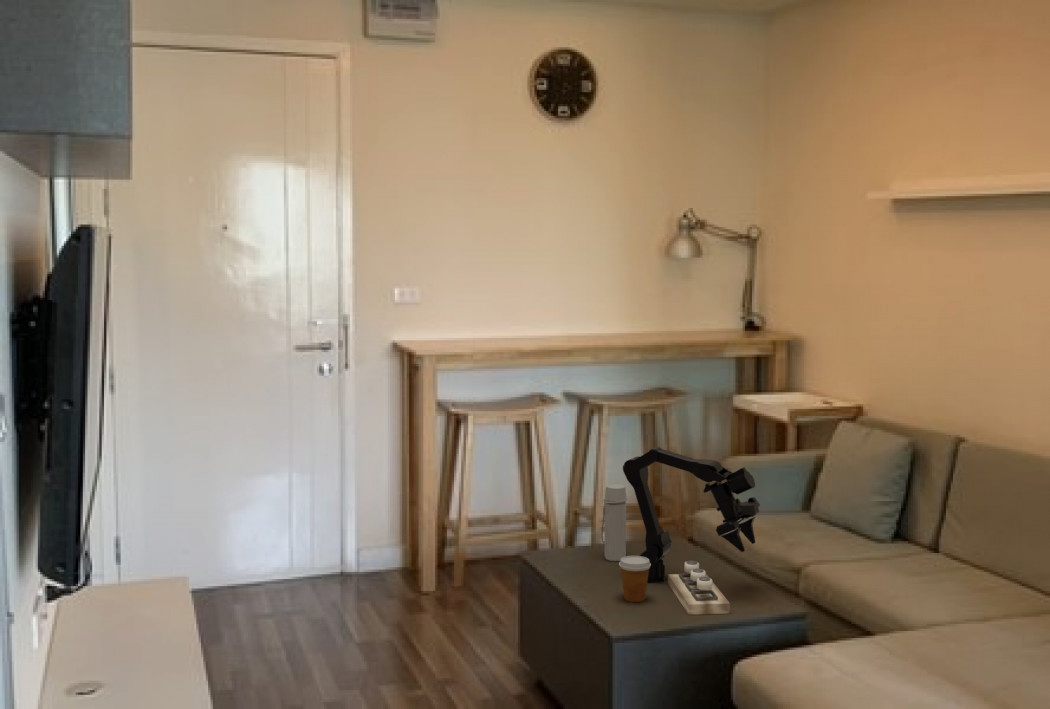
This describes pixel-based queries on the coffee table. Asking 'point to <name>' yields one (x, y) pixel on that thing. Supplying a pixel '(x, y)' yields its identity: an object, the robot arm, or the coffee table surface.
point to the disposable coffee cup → (634, 577)
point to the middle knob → (697, 574)
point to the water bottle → (614, 522)
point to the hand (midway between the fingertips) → (748, 547)
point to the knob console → (698, 596)
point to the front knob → (704, 583)
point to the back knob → (691, 566)
